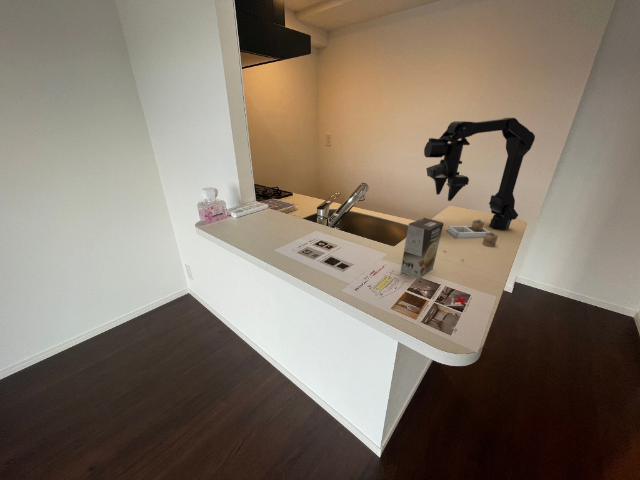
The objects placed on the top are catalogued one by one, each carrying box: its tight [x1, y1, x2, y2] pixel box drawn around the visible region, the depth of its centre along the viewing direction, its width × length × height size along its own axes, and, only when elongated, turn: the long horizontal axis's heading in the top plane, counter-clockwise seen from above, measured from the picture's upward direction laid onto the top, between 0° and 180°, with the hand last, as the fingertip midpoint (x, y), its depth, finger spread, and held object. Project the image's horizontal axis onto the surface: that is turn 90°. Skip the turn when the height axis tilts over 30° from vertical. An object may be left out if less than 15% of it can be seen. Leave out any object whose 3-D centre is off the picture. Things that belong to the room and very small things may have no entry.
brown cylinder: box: [482, 231, 499, 248], centre depth 95 cm, size 4×4×6 cm
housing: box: [443, 225, 491, 240], centre depth 105 cm, size 16×8×3 cm, turn 94°
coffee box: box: [400, 217, 444, 280], centre depth 77 cm, size 9×6×16 cm
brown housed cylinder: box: [471, 219, 485, 232], centre depth 104 cm, size 4×4×6 cm
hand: (443, 197), depth 104 cm, fingers open, 9 cm apart
